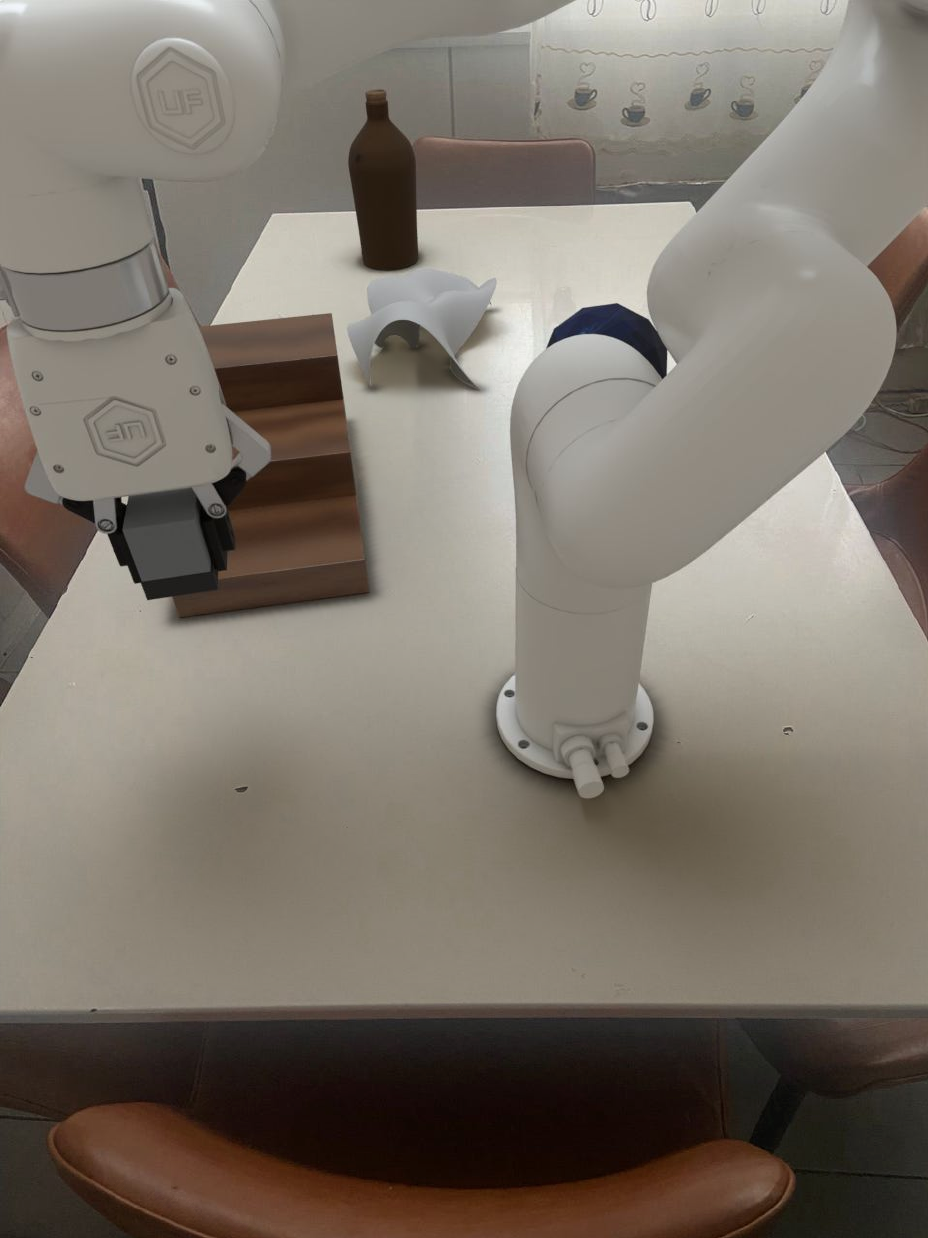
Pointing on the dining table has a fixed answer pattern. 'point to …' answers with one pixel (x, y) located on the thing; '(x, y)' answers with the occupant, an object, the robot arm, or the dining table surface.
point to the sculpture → (421, 313)
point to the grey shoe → (169, 543)
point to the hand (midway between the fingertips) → (181, 561)
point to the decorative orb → (616, 331)
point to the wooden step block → (287, 468)
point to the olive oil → (384, 189)
